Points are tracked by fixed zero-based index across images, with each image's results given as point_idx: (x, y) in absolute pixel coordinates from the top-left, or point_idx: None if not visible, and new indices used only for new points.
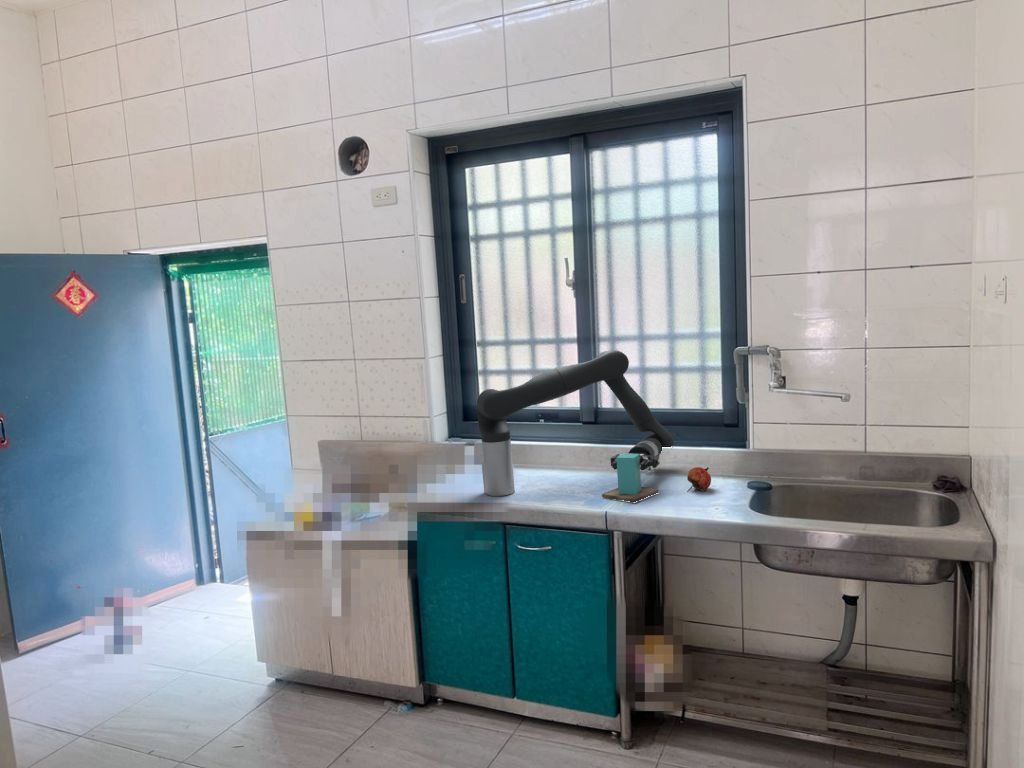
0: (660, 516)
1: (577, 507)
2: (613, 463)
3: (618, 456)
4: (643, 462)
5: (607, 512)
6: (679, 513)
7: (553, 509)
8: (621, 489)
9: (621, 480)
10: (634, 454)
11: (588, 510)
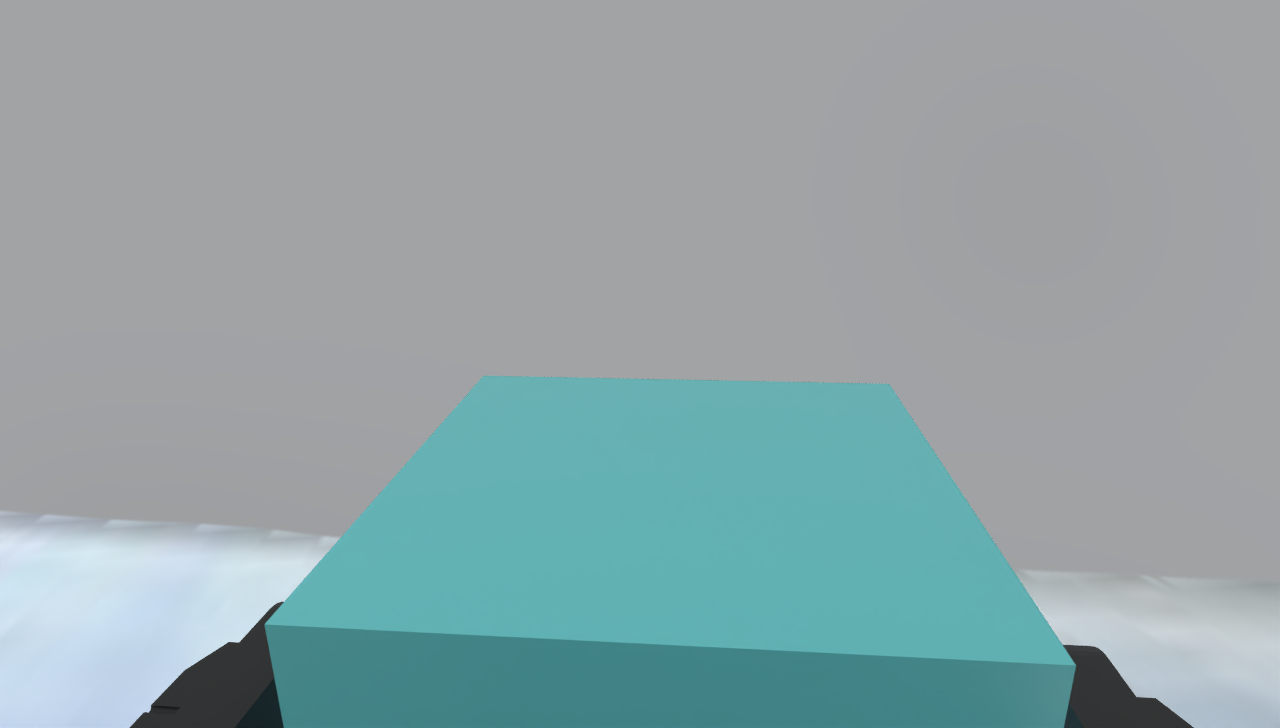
0: None
1: (1058, 636)
2: (1070, 647)
3: (900, 426)
4: (246, 652)
5: None
6: (167, 595)
7: (1206, 586)
8: None
9: None
10: (471, 567)
11: None
